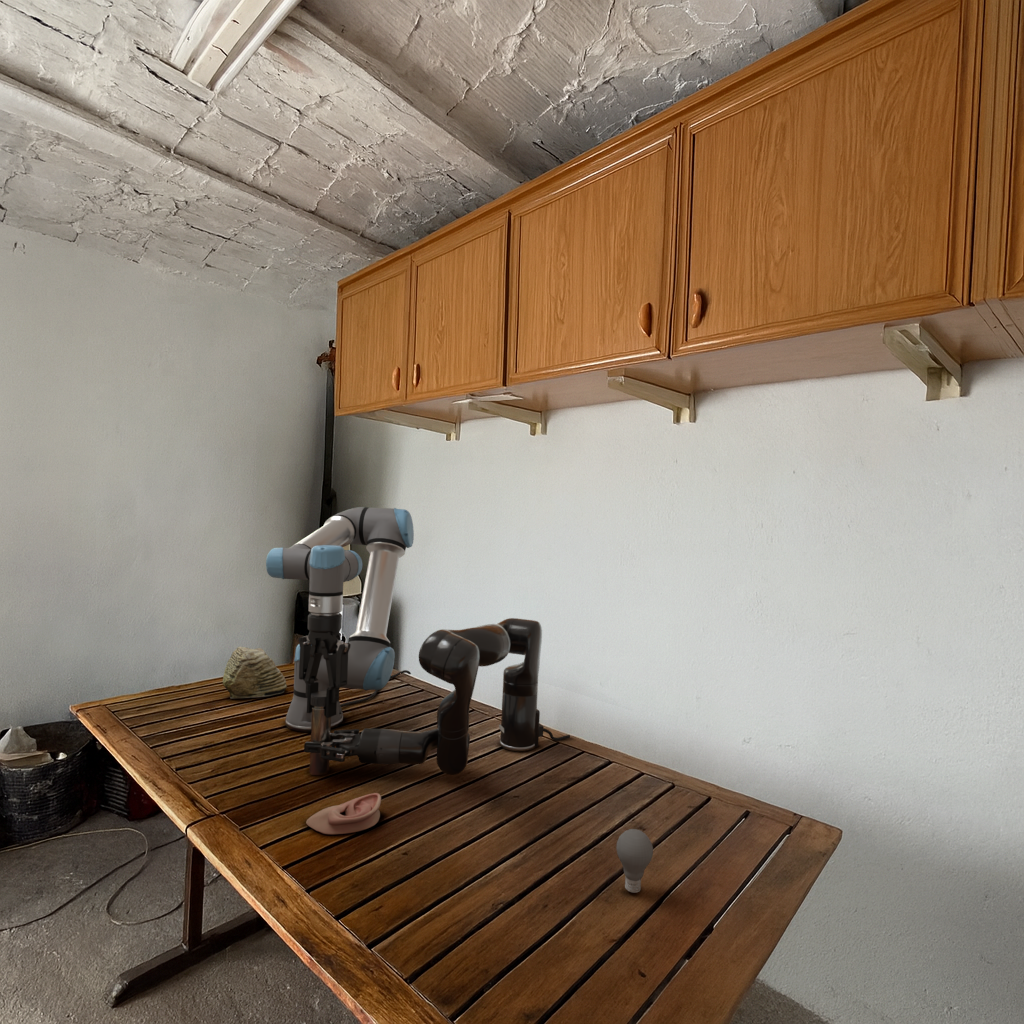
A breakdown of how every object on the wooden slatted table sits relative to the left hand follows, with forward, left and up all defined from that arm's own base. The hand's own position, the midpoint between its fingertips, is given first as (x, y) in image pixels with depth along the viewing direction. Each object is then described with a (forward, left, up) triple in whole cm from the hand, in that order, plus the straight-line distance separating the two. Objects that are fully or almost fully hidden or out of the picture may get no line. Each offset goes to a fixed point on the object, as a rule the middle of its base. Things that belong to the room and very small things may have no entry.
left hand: (321, 713), depth 146 cm
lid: (0, 0, +4) cm, 4 cm away
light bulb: (-9, +76, -13) cm, 77 cm away
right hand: (+2, -2, -7) cm, 7 cm away
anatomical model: (+10, +23, -13) cm, 28 cm away
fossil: (-18, -61, -13) cm, 65 cm away
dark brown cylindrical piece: (0, 0, -13) cm, 13 cm away
